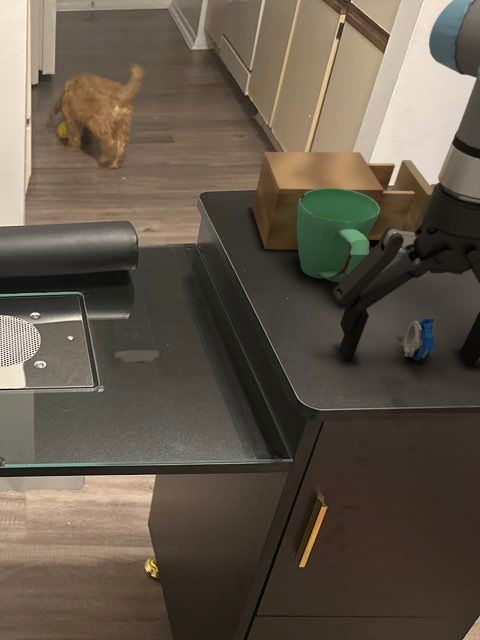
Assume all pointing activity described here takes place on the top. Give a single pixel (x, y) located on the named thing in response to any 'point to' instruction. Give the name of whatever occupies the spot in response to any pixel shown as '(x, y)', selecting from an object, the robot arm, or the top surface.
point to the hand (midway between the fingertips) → (405, 355)
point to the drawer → (400, 198)
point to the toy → (418, 339)
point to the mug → (334, 231)
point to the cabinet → (304, 188)
